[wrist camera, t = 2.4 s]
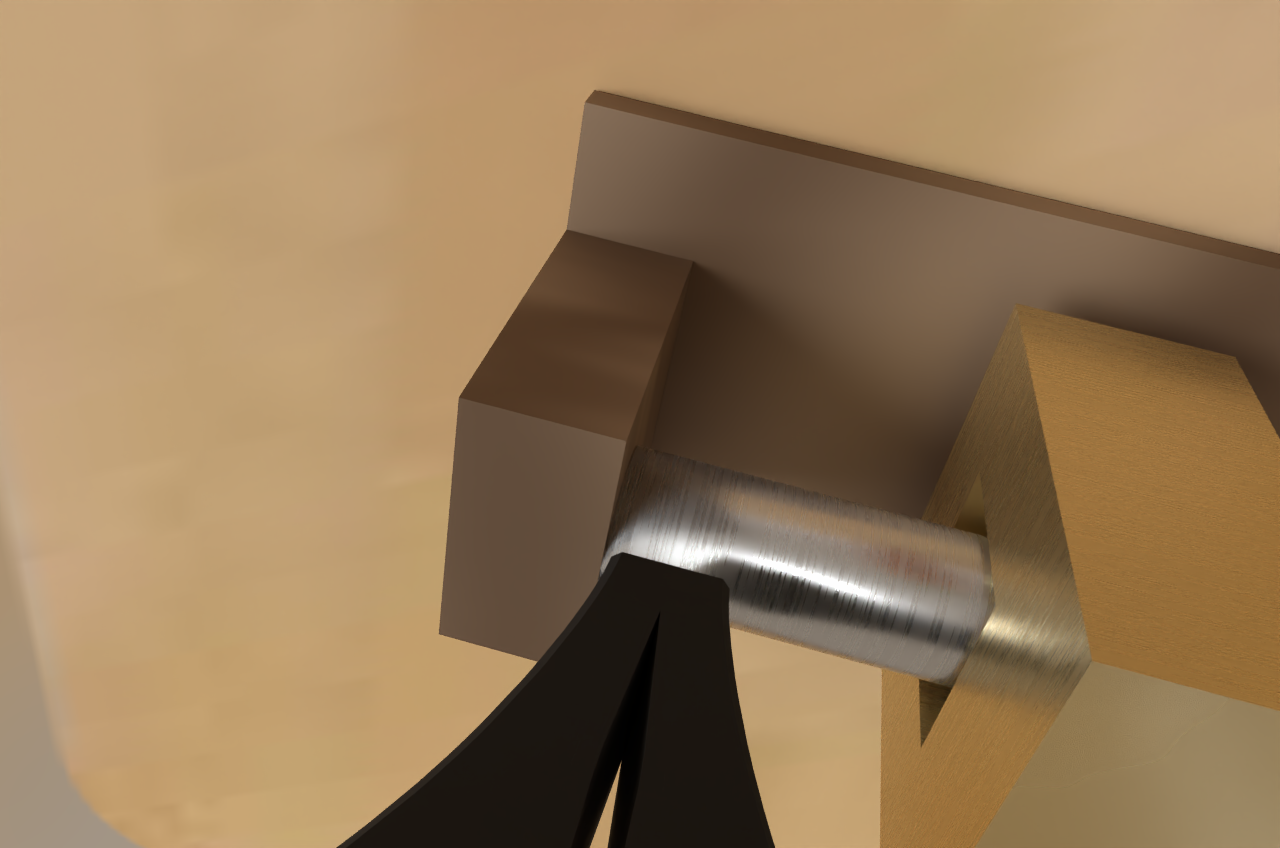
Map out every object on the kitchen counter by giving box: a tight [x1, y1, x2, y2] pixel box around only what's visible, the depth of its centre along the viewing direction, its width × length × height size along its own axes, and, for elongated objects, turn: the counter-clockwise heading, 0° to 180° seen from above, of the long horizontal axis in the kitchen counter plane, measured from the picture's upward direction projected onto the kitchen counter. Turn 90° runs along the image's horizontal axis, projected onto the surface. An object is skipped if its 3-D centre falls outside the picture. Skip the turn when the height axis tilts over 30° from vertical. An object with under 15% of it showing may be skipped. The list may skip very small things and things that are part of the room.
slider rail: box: [439, 90, 1280, 661], centre depth 15 cm, size 18×8×6 cm, turn 80°
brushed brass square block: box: [880, 303, 1280, 848], centre depth 13 cm, size 3×6×7 cm, turn 170°
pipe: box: [598, 445, 996, 688], centre depth 13 cm, size 18×2×2 cm, turn 80°
